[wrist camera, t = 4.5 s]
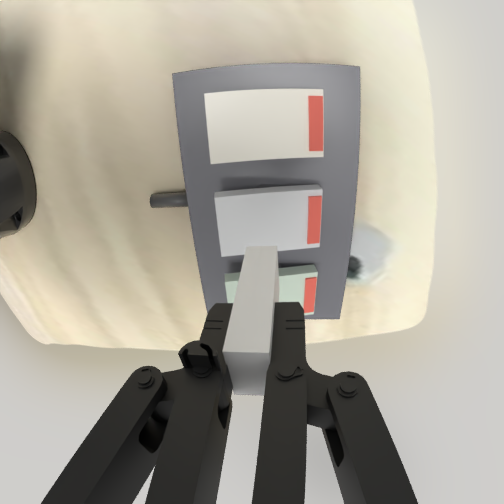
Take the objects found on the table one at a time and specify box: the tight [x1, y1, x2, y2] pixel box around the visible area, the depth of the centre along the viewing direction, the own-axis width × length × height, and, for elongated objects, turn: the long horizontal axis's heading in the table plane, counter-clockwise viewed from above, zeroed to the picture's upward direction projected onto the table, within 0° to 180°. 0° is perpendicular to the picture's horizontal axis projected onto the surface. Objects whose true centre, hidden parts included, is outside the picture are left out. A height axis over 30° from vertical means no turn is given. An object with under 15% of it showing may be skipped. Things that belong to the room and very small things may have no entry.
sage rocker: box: [225, 264, 318, 315], centre depth 27 cm, size 8×5×1 cm, turn 93°
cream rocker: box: [204, 89, 324, 164], centre depth 19 cm, size 8×5×1 cm, turn 93°
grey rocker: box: [214, 184, 323, 257], centre depth 23 cm, size 8×5×1 cm, turn 93°
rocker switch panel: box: [150, 63, 360, 319], centre depth 26 cm, size 19×24×5 cm
